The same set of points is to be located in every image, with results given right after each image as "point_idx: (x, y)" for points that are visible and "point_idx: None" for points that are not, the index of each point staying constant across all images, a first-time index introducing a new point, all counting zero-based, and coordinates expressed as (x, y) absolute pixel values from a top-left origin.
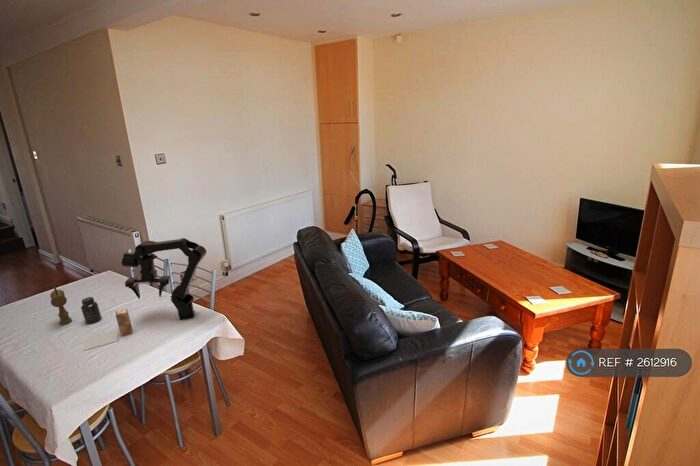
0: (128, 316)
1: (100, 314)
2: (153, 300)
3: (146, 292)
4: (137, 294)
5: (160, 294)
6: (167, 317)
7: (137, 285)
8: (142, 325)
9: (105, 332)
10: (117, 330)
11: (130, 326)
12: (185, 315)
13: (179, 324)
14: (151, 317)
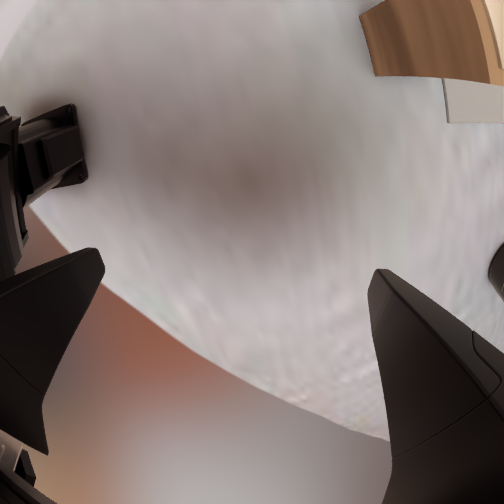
0: (430, 21)
1: (500, 278)
2: (294, 355)
3: (326, 398)
4: (429, 314)
5: (48, 262)
6: (158, 151)
7: (413, 502)
8: (314, 89)
9: (491, 112)
10: (450, 95)
11: (380, 3)
12: (36, 121)
13: (69, 56)
14: (272, 184)
